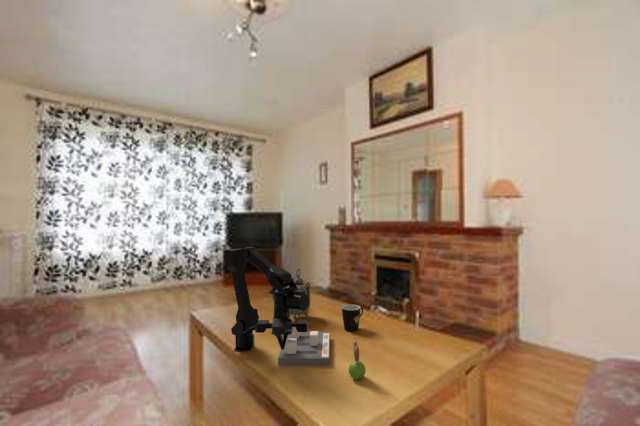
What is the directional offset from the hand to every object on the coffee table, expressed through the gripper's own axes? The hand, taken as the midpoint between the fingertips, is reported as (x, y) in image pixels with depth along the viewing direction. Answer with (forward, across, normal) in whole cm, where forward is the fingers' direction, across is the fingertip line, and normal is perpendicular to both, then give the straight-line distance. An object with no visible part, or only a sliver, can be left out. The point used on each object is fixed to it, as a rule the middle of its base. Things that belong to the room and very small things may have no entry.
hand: (282, 349), depth 119 cm
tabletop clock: (+4, +1, +44) cm, 44 cm away
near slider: (+1, +3, 0) cm, 4 cm away
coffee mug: (+4, +28, +30) cm, 41 cm away
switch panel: (+4, +8, +7) cm, 11 cm away
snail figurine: (+4, +26, -13) cm, 29 cm away
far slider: (+1, +3, +14) cm, 14 cm away
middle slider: (+1, +11, +7) cm, 13 cm away
